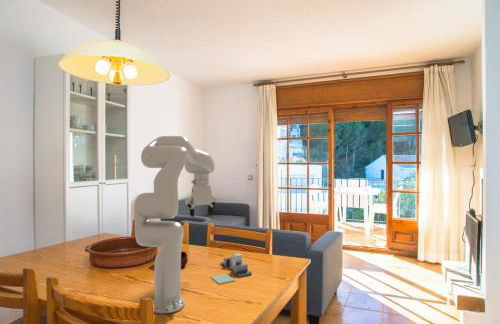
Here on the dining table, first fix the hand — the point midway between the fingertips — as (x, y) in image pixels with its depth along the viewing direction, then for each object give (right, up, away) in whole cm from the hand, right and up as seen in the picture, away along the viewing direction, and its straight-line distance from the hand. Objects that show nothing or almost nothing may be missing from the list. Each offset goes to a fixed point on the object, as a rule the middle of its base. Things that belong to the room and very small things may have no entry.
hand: (201, 215), depth 157 cm
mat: (+13, -26, -17) cm, 34 cm away
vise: (+18, -26, -4) cm, 32 cm away
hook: (+18, -27, -4) cm, 32 cm away
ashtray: (-14, -27, +3) cm, 31 cm away
